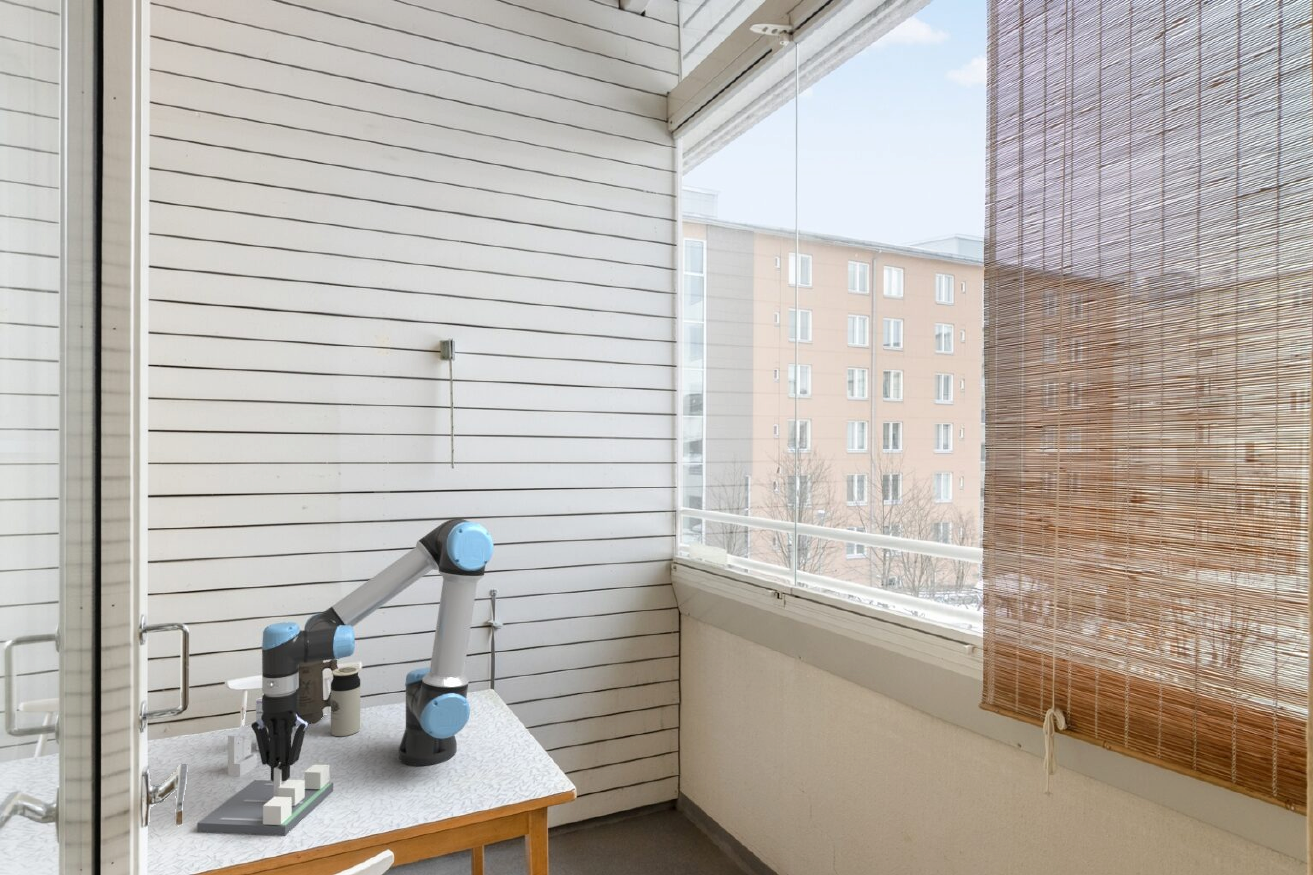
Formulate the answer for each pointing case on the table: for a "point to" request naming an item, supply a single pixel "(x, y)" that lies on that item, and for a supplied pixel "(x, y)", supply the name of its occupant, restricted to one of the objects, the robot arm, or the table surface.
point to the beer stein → (313, 690)
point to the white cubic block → (293, 790)
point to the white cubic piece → (316, 776)
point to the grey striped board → (258, 811)
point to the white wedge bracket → (240, 756)
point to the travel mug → (345, 701)
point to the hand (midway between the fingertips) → (280, 793)
